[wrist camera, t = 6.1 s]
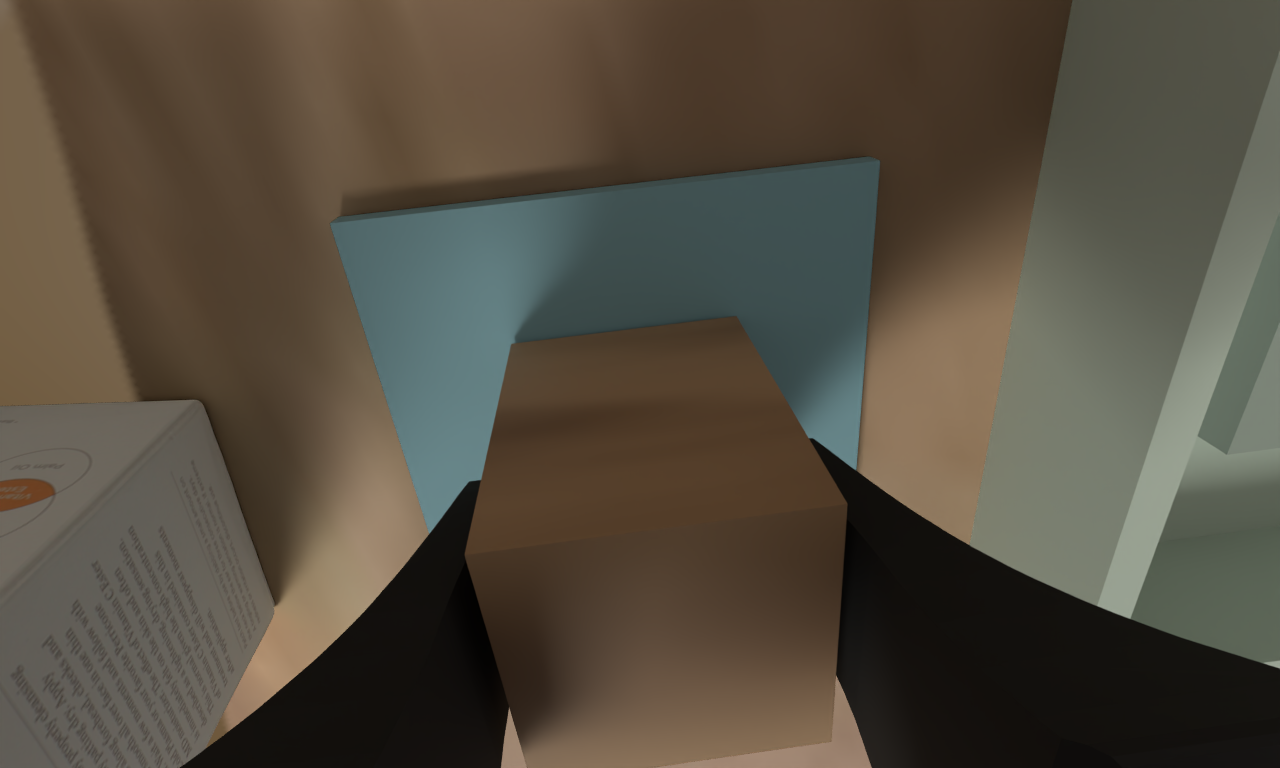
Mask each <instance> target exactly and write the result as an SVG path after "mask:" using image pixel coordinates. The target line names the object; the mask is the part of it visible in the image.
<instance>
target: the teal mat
mask: <svg viewBox="0 0 1280 768" xmlns="http://www.w3.org/2000/svg"><path fill="white" fill-rule="evenodd" d="M879 171H880V160H877V159H875V158H872V157H870V156H869V157H860V158H851V159H843V160H834V161H825V162H816V163H807V164H799V165H790V166H781V167H772V168H763V169H755V170H746V171H737V172H728V173H720V174H711V175H702V176H693V177H684V178H676V179H667V180H658V181H649V182H640V183H632V184H623V185H614V186H605V187H597V188H588V189H579V190H570V191H561V192H553V193H544V194H535V195H526V196H517V197H509V198H500V199H491V200H482V201H474V202H465V203H456V204H447V205H438V206H430V207H421V208H412V209H403V210H394V211H386V212H377V213H368V214H359V215H351V216H342V217H338V218H337V219H335V220H334V221H332V222H331V223H330V226H331V229H332V232H333V235H334V238H335V242H336V245H337V248H338V251H339V254H340V257H341V260H342V263H343V266H344V270H345V273H346V276H347V279H348V282H349V285H350V288H351V291H352V294H353V298H354V301H355V304H356V307H357V310H358V313H359V316H360V319H361V322H362V326H363V329H364V332H365V335H366V338H367V341H368V344H369V347H370V350H371V354H372V357H373V360H374V363H375V366H376V369H377V372H378V375H379V379H380V382H381V385H382V388H383V391H384V394H385V397H386V400H387V403H388V407H389V410H390V413H391V416H392V419H393V422H394V425H395V428H396V431H397V435H398V438H399V441H400V444H401V447H402V450H403V453H404V456H405V459H406V463H407V466H408V469H409V472H410V475H411V478H412V481H413V484H414V487H415V491H416V494H417V497H418V500H419V503H420V506H421V509H422V512H423V515H424V519H425V522H426V525H427V528H428V531H429V534H430V532H431V531H432V530H433V528H434V527H435V526H436V524H437V523H438V522H439V520H440V519H441V518H442V516H443V515H444V514H445V512H446V511H447V510H448V508H449V507H450V506H451V504H452V503H453V501H454V500H455V499H456V497H457V496H458V495H459V493H460V492H461V491H462V490H463V488H464V487H465V486H466V485H467V483H468V482H469V481H477V480H481V478H482V474H483V469H484V465H485V460H486V455H487V451H488V446H489V442H490V437H491V433H492V428H493V424H494V419H495V415H496V410H497V406H498V401H499V397H500V392H501V388H502V383H503V379H504V374H505V370H506V365H507V361H508V356H509V352H510V347H511V344H514V343H522V342H530V341H539V340H547V339H555V338H563V337H571V336H579V335H587V334H595V333H603V332H612V331H620V330H628V329H636V328H644V327H652V326H660V325H668V324H676V323H684V322H693V321H701V320H709V319H717V318H725V317H733V316H737V318H738V320H739V321H740V323H741V325H742V326H743V328H744V330H745V331H746V333H747V335H748V336H749V338H750V340H751V342H752V343H753V345H754V347H755V348H756V350H757V352H758V353H759V355H760V357H761V358H762V360H763V362H764V363H765V365H766V367H767V369H768V370H769V372H770V374H771V375H772V377H773V379H774V380H775V382H776V384H777V385H778V387H779V389H780V391H781V392H782V394H783V396H784V397H785V399H786V401H787V402H788V404H789V406H790V407H791V409H792V411H793V413H794V414H795V416H796V418H797V419H798V421H799V423H800V424H801V426H802V428H803V429H804V431H805V433H806V434H807V436H808V438H813V439H815V440H816V441H818V442H819V443H820V444H822V445H823V446H824V447H826V448H827V449H828V450H830V451H831V452H832V453H834V454H835V455H836V456H837V457H839V458H840V459H841V460H843V461H844V462H845V463H847V464H848V465H849V466H851V467H852V468H853V469H855V470H856V467H857V454H858V441H859V428H860V415H861V403H862V390H863V377H864V364H865V351H866V338H867V325H868V312H869V299H870V287H871V274H872V261H873V248H874V235H875V222H876V209H877V196H878V183H879Z"/></svg>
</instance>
